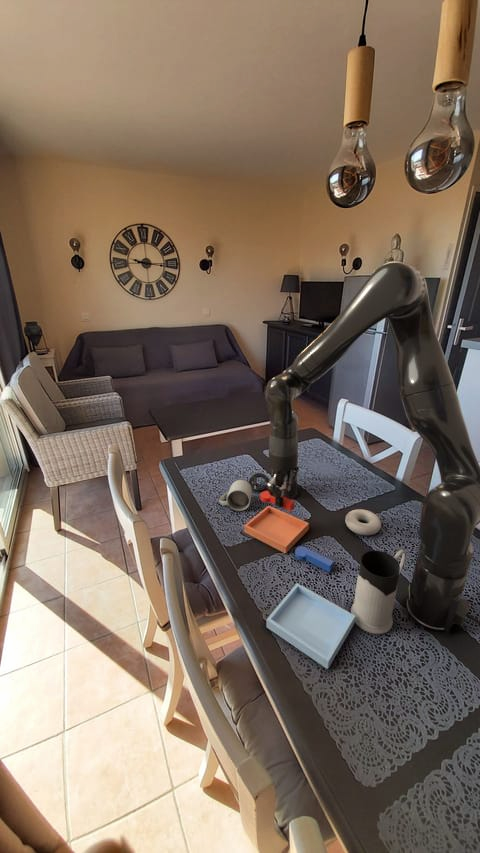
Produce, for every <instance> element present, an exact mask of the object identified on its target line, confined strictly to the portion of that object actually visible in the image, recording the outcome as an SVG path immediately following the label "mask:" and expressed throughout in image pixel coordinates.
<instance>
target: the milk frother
mask: <svg viewBox="0 0 480 853" xmlns="http://www.w3.org/2000/svg"><path fill="white" fill-rule="evenodd" d="M299 458H300V454H299V453H298V457H297V466H299ZM298 473H299V472H298ZM298 473H297V476H296V479H295V483H294V486H293V487H291V489H290V491H289V498H288V499H290V500H293V499H294V498H296V497H297V496H298V493H299V492H298ZM258 478H261V479H263V480H264V481H265V483H266V482H270V480H271V479H270V478H269V477H268V475H266V474H264V473H261V472H257V473H254V474H253V475H251V477H250V478H249V479H248V481H247V482H248V483H249V484H250V486H251V488H252V491H254V492H264V491H266V490H267V488H266V486H265V484H264V485H263V486H260V487H259V483H258ZM278 491H279V492H280V489H278Z"/></svg>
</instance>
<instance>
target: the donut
mask: <svg viewBox="0 0 480 853" xmlns="http://www.w3.org/2000/svg"><path fill="white" fill-rule="evenodd" d="M344 522H345V524H346V527H347V528H348V530H350V531H352V532H353V533H355V534H357V535H360V536H373V535H376V534H377V533H378V532H379V531H380V530H381V528H382V521H381V520H380V517H378V516H377V514H375V513H374V512H373V511H370V510H367V509H362V508H360V509H357V508H356V509H353V510H351V511H349V512H348V513H347V514H346V515H345V521H344ZM364 522H365V523H364Z"/></svg>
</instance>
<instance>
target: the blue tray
mask: <svg viewBox="0 0 480 853" xmlns="http://www.w3.org/2000/svg"><path fill="white" fill-rule="evenodd" d="M355 624H356V623H355V615H353V614H351V612H349V611H348V610H346V609H344V608H343V607H340V606H339V605H337V604H335V603H334V602H332V601H331V600H329V599H326V598H324V597H323V596H322V595H320V594H317V593H316V592H315V591H312V590H311V589H309V588H307V587H305V586H304V585H302V584H301V583H298V582H297V583H295V585H294V586H292V588H291V590H289V592H288V593H287V594H286V596H284V598H283V599H282V600H281V602H280V603H279V604H278V605H277V606H276V608H275V609H274V610H273V611H272V612H271V613H270V615H268V617H267V618H266V628H267V629H269V630H270V631H271V632H273V633H274V634H276V635H277V636H279V637H280V638H281V639H283V640H284V641H286V642H287V643H289V645H292V646H293V647H295V648H296V649H297V650H299V651H300V652H301V653H303V654H305V656H307V657H309V658H311V659H312V660H314V661H315V662H316V663H318V664H319V665H320V666H322V667H323V668H325V669H326V670H329V669H330V666H331V665H332V663H333V661H334V660H335V658H336V656H337V654H338V653H339V651H340V649H341V648H342V646H343V644H344V642H345V641H346V639H347V638H348V636H349V634H350V632H351V630H352V629H353V627H354V625H355Z"/></svg>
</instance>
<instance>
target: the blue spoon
mask: <svg viewBox="0 0 480 853" xmlns="http://www.w3.org/2000/svg"><path fill="white" fill-rule="evenodd" d="M294 555H295V558H296V559H297V560H299V561H307V562H308V563H310V564H312V565H314V566H316V567H318V568H320V569H322V570H323V571H326V572H327V573H331V571H333V569H334V565H335V562H334V561H333V560H332V559H330V558H329V557H326V556H324V555H322V554H319V553H318V552H316V551H314V550H311V549H309V548H308V547H306V546H298V547H296V548H295V550H294Z"/></svg>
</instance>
